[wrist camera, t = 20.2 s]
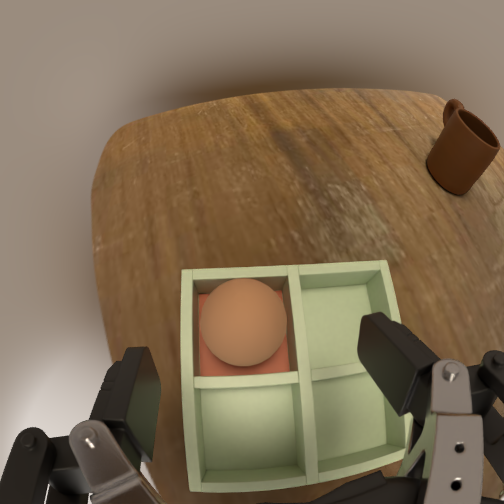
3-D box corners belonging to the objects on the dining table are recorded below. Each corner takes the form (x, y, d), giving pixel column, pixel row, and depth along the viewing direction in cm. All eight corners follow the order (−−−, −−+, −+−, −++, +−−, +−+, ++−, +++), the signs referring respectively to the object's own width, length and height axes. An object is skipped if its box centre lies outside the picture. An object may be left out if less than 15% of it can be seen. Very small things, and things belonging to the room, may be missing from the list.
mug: (411, 131, 35) (434, 83, 26) (448, 144, 34) (472, 102, 26) (433, 189, 29) (470, 137, 21) (472, 202, 29) (509, 158, 21)
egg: (214, 375, 19) (198, 367, 12) (202, 308, 21) (183, 263, 14) (285, 361, 19) (311, 345, 12) (269, 296, 22) (284, 246, 15)
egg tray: (197, 476, 15) (189, 491, 12) (189, 287, 22) (181, 269, 19) (392, 448, 16) (414, 453, 13) (369, 277, 23) (386, 259, 20)
